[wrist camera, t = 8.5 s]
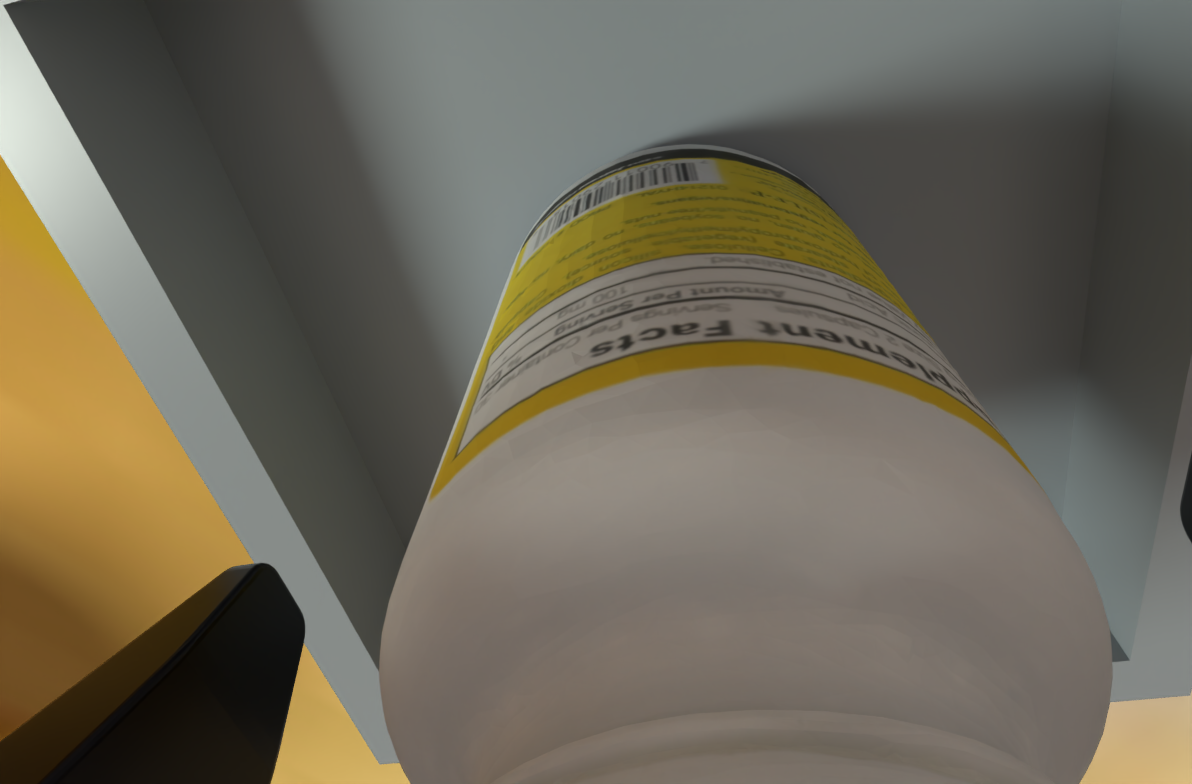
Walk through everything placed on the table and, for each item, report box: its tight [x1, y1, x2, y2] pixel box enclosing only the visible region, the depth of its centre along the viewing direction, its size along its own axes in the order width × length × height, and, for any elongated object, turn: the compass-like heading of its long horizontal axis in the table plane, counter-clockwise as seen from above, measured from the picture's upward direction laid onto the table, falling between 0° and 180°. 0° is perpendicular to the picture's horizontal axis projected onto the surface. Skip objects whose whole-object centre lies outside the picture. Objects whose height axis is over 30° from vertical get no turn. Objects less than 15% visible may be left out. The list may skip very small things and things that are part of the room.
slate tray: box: [0, 0, 1192, 764], centre depth 11 cm, size 14×14×3 cm
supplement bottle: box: [379, 144, 1113, 784], centre depth 7 cm, size 5×5×10 cm
